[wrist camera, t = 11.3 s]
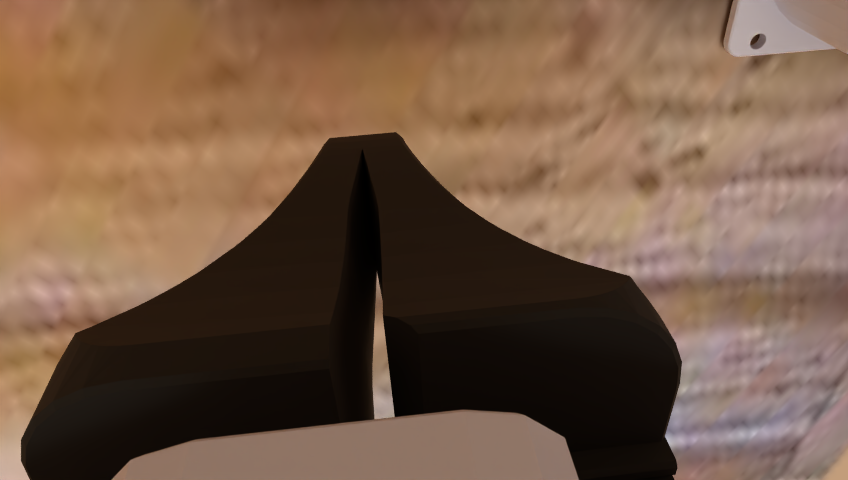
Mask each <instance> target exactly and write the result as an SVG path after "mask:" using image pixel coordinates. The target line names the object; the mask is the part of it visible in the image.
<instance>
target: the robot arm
mask: <svg viewBox="0 0 848 480" xmlns="http://www.w3.org/2000/svg"><path fill="white" fill-rule="evenodd" d="M757 34H760V37H759V39H758V41H757V42H756V43H755V44H753V45H750V42H751V40H752V38H753V37H754V36H755V35H757ZM724 48H725V50H726V51H727V52H728V53H730V54H731V55H733V56H735V57H745V56H757V55H769V54H780V53H792V52H804V51H816V50H828V49H838V50H840V51H842V52H844V53H846V54H847V55H848V0H733V3H732V7H731V12H730V16H729V20H728V24H727V29H726V33H725V37H724ZM377 274H378V279H379V284H380V289H381V294H382V300H383V320H384V329H385V337H386V346H387V354H388V363H389V371H390V380H391V388H392V397H393V405H394V414H395V417H392V418H383V419H374V405H373V388H372V361H373V340H374V320H375V300H376V278H377ZM681 366H682V361H681V358H680V355H679V352H678V349H677V346H676V343H675V341H674V339H673V338H672V336H671V334H670V332H669V331H668V329H667V327H666V326H665V324H664V322H663V321H662V319H661V317H660V316H659V314H658V313H657V312H656V310H655V309H654V307H653V306H652V304H651V303H650V301H649V300H648V299H647V298H646V296H645V295H644V294H643V293H642V291H641V290H640V289H639V288H638V287H637V285H636V284H635V282H634V281H633V279H632V278H631V277H630V276H627V275H624V274H620V273H616V272H613V271H609V270H605V269H602V268H598V267H594V266H591V265H587V264H583V263H580V262H577V261H574V260H571V259H568V258H565V257H563V256H560V255H557V254H555V253H552V252H549V251H547V250H544V249H542V248H539V247H537V246H535V245H532V244H530V243H528V242H526V241H523V240H522V239H520V238H518V237H516V236H514V235H512V234H510V233H508V232H506V231H504V230H502V229H500V228H499V227H497V226H495V225H493V224H492V223H490V222H488V221H487V220H485V219H484V218H482V217H481V216H479V215H478V214H476V213H475V212H473V211H472V210H470V209H469V208H467V207H466V206H465V205H464V204H462V203H461V202H460V201H459V200H458V199H456V198H455V197H454V196H453V195H452V194H451V193H450V192H448V191H447V190H446V189H445V188H444V187H443V186H442V185H441V184H440V183H439V182H438V181H437V180H436V179H435V178H434V177H433V176H432V175H431V174H430V173H429V171H428V170H427V169H426V168H425V167H424V166H423V165H422V164H421V163H420V161H419V160H418V159H417V158H416V156H415V155H414V154H413V153H412V151H411V150H410V149H409V147H408V146H407V144H406V143H405V141H404V140H403V138H402V137H401V136H400V135H399V134H398V133H396V132H394V133H383V134H371V135H360V136H349V137H337V138H329V139H328V141H327V142H326V143H325V144H324V146H323V147H322V149H321V150H320V152H319V153H318V155H317V156H316V158H315V159H314V161H313V162H312V164H311V165H310V167H309V168H308V170H307V171H306V172H305V174H304V175H303V176H302V178H301V179H300V180H299V182H298V183H297V184H296V186H295V187H294V188H293V190H292V191H291V192H290V193H289V195H288V196H287V197H286V198H285V199H284V200H283V201H282V203H281V204H280V205H279V206H278V207H277V208H276V209H275V210H274V212H273V213H272V214H271V215H270V216H269V217H268V218H267V219H266V220H265V221H264V222H263V223H262V224H261V225H260V226H259V227H258V228H256V229H255V230H254V231H253V232H252V233H251V234H249V235H248V236H247V237H246V238H245V239H244V240H243V241H241V242H240V243H239V244H238V245H236V246H235V247H234V248H232V249H231V250H229V251H228V252H227V253H225V254H224V255H222V256H221V257H220V258H218V259H217V260H215V261H214V262H212V263H211V264H210V265H208V266H207V267H205V268H204V269H203V270H201V271H200V272H198V273H197V274H195V275H193V276H192V277H190V278H188V279H187V280H185V281H183V282H182V283H180V284H178V285H177V286H175V287H173V288H171V289H169V290H167V291H166V292H164V293H162V294H160V295H158V296H156V297H155V298H153V299H151V300H149V301H147V302H145V303H143V304H141V305H139V306H137V307H135V308H132V309H130V310H128V311H126V312H123V313H121V314H119V315H117V316H114V317H112V318H110V319H108V320H106V321H103V322H101V323H99V324H97V325H94V326H92V327H90V328H87V329H85V330H82V331H80V332H77V333H75V335H74V337H73V338H72V340H71V342H70V343H69V345H68V347H67V349H66V350H65V352H64V354H63V355H62V357H61V359H60V361H59V362H58V364H57V366H56V368H55V370H54V373H53V375H52V377H51V379H50V381H49V383H48V385H47V387H46V389H45V391H44V394H43V396H42V398H41V400H40V402H39V404H38V406H37V408H36V410H35V412H34V414H33V416H32V418H31V420H30V422H29V425H28V427H27V429H26V431H25V433H24V435H23V437H22V439H21V462H22V464H23V466H24V468H25V470H26V472H27V475H28V477H29V479H30V480H674V478H673V476H672V475H675V474H676V471H677V463H676V459H675V457H674V455H673V452H672V450H671V448H670V446H669V444H668V442H667V440H666V438H665V433H666V430H667V426H668V423H669V419H670V416H671V412H672V409H673V405H674V402H675V398H676V395H677V391H678V388H679V384H680V377H681Z"/></svg>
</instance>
